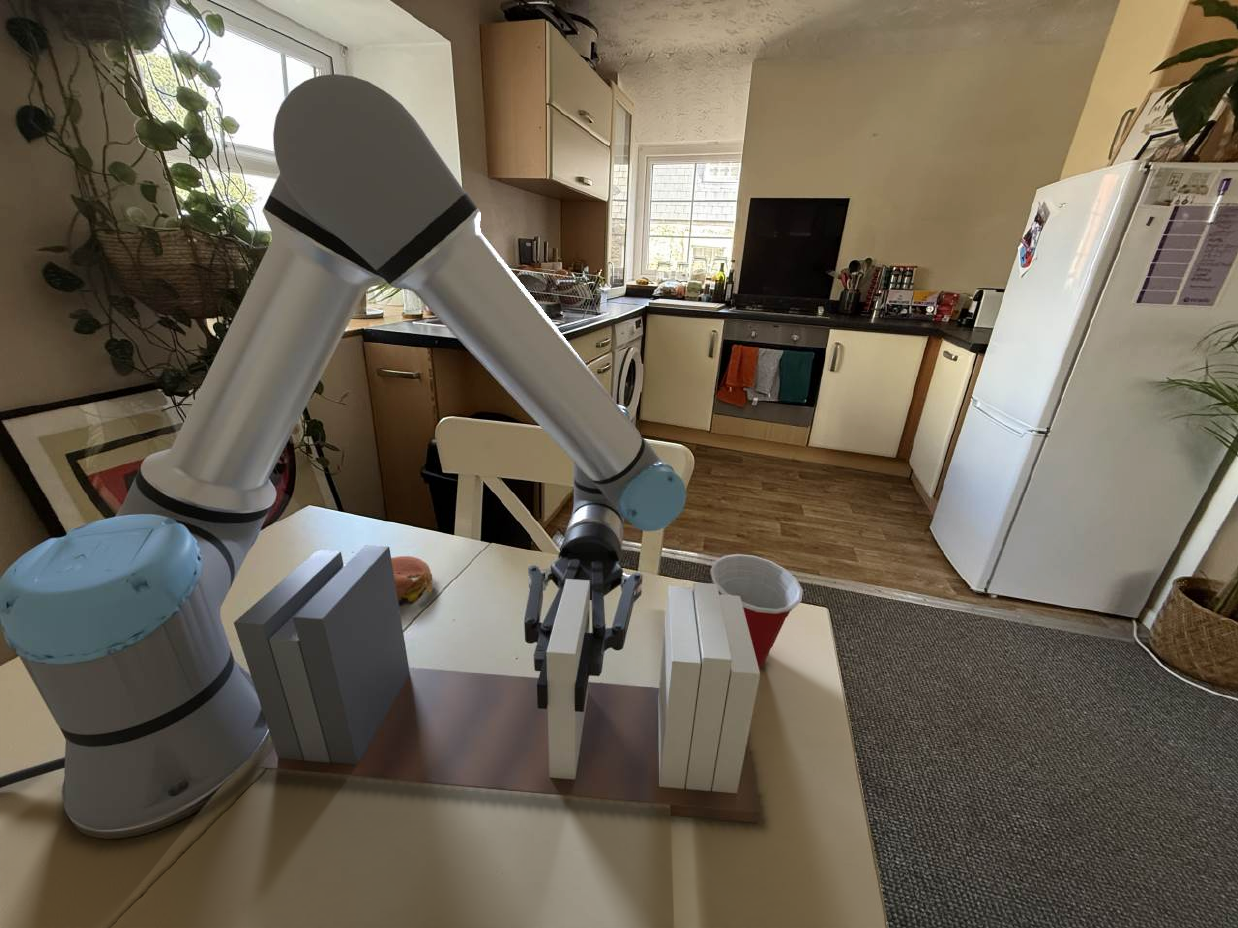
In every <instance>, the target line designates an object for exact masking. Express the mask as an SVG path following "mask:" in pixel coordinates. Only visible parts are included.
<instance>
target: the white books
mask: <svg viewBox="0 0 1238 928" xmlns="http://www.w3.org/2000/svg"><path fill="white" fill-rule="evenodd" d="M662 642H663V643H662V654H661V663H660V664H661V665H660V673H659V674H660V675H659V686H658V687H659V695H658V722H659V787H669V788H680V789H684V787H685V788H686V789H693V790H704V791H711V788H712V791H715V792H727V793H737V790H738V785H739V780H740V775H741V770H742V765H743V760H744V755H745V749H746V744H747V745H748V740H749V734H750V727H751V723H752V718H753V713H754V708H755V704H756V698H757V693H758V688H759V683H760V678H761V672H760V671H761V670H760V668H759V667H758V663H757V659H756V656H755V652H754V648H753V644H752V640H751V636H750V632H749V629H748V625H747V621H746V617H745V613H744V609H743V605H742V601H741V598H740V596H733V595H719V591H718V586H717V584H713V583H707V582H693V586H692V587H691V586H677V585H676V586H675V585H668V588H667V599H666V610H665V620H664V633H663V641H662Z"/></svg>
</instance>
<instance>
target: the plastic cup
mask: <svg viewBox="0 0 1238 928" xmlns="http://www.w3.org/2000/svg"><path fill="white" fill-rule="evenodd" d="M709 571H710V573H709V575H710V577H711V581H712V584H717V586H718V591H719V595H733V596H740V598H741V601H742V605H743V609H744V613H745V617H746V621H747V625H748V629H749V632H750V636H751V640H752V644H753V648H754V652H755V656H756V659H757V663H758V667H759V669H760V668H761V667H762V666H763V665H764V663H766V660H767V658H768V656H769V653H770V651H771V649H772V648H773V647H774V644H775V642H776V640H777V638H778V636H779V634H780V631H781V629H782V627H783V625H784V623H785V621H786V618H788V616H789V614H790V612H792V611H793V609H795V608H796V607H797V606H798V605H799V604H800V603H801V602H802V601H803V592H804V590H803V588H802V586H801V584H800V582H799V580H798V579H797V578H796V577H795V576H794V575H793V574H792V573H791V572H789V570H787V569H786V568H784V567H782V566H781V565H779V564H777V563H775V562H773V561H771V560H769V559H766V558H763V557H759V556H756V555H750V554H742V553H741V554H740V553H735V554H734V553H733V554H728V555H723V556H721V557H719V558H718V559H716V560H715V561H713V563H712V565H711V568H710V570H709Z"/></svg>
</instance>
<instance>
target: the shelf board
mask: <svg viewBox="0 0 1238 928" xmlns="http://www.w3.org/2000/svg"><path fill="white" fill-rule="evenodd" d="M409 671H410V675H409V677H408V679H407V680H406V682H405V684H404V686H403V687H402V689H401V691H400V692H399V694H398V696H397V698H396V699H395V701H394V703H393V704H392V706H391V708H390V710H389V711H388V713H387V715H386V716H385V718H384V720H383V721H382V723H381V725H380V727H379V728H378V730H377V732H376V733H375V735H374V737H373V739H372V740H371V742H370V744H369V745H368V747H367V749H366V751H365V752H364V754H363V756H362V757H361V759H360V761H359V763H358V764H357V765H352V764H341V763H332V762H330V763H328V762H317V761H306V760H294V759H283V758H278V757H277V754H276V751H275V748H274V747H273V748H272V749H271V750H270V751H269V752H268V754H267V756H266V757H265V758H264V760H262V762H261V763H260V764H259V766H258V768H259V769H269V770H279V771H292V772H301V773H303V772H304V773H313V774H325V775H335V776H336V775H337V776H347V777H357V778H358V777H359V778H368V779H382V780H392V781H402V782H413V783H423V784H424V783H426V784H436V785H445V786H446V785H447V786H458V787H470V788H480V789H481V788H482V789H489V790H491V789H492V790H503V791H515V792H526V793H537V794H547V795H559V796H569V797H581V798H593V799H601V800H602V799H603V800H614V801H624V802H625V801H626V802H636V803H647V804H658V805H669V812H670V813H669V814H670V816H676V817H686V818H687V817H688V818H699V819H710V820H720V821H730V822H740V823H741V822H743V823H751V824H754V823H755V824H758V823H759V821H760V817H761V808H760V803H759V797H758V792H757V791H758V790H757V786H756V782H755V775H754V771H753V767H752V766H753V765H752V760H751V756H750V751H749V746H748V743H747V744H746V749H745V755H744V760H743V765H742V770H741V775H740V780H739V785H738V790H737V793H727V792H715V791H712V788H711V791H704V790H693V789H686V788H685V787H684V789H680V788H669V787H659V722H658V695H659V686H658V687H657V686H646V685H645V686H644V685H633V684H623V683H622V684H619V683H608V682H595V681H588V697H587V704H586V710H585V717H584V724H583V730H582V737H581V744H580V750H579V757H578V764H577V771H576V777H575V780H574V779H563V778H551V777H550V773H549V733H548V705H547V709H538V703H537V682H538V678H539V677H531V676H520V675H507V674H505V675H504V674H495V673H482V672H481V673H480V672H472V671H471V672H469V671H468V672H467V671H458V670H457V671H455V670H447V669H446V670H444V669H433V668H419V667H409Z"/></svg>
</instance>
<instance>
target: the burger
mask: <svg viewBox="0 0 1238 928" xmlns="http://www.w3.org/2000/svg"><path fill="white" fill-rule="evenodd" d="M391 560H392V566H393V573H394V579H395V585H396V591H397V597H398V603H399V607H402V606H405V605H406V604H407V605H412V604H414V603H415V602H417V601H418V600H419V599H420V598H421V597H422V596H423V595H424V594H433V592H434V591H433V590H434V584H433V573H432V572H431V568H430V566H429V565H428V563H427V562H425V561H424V560H422V559H420V558H418V557H414V556H410V555H407V556H406V555H403V556H402V555H401V556H394V557H391Z"/></svg>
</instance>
